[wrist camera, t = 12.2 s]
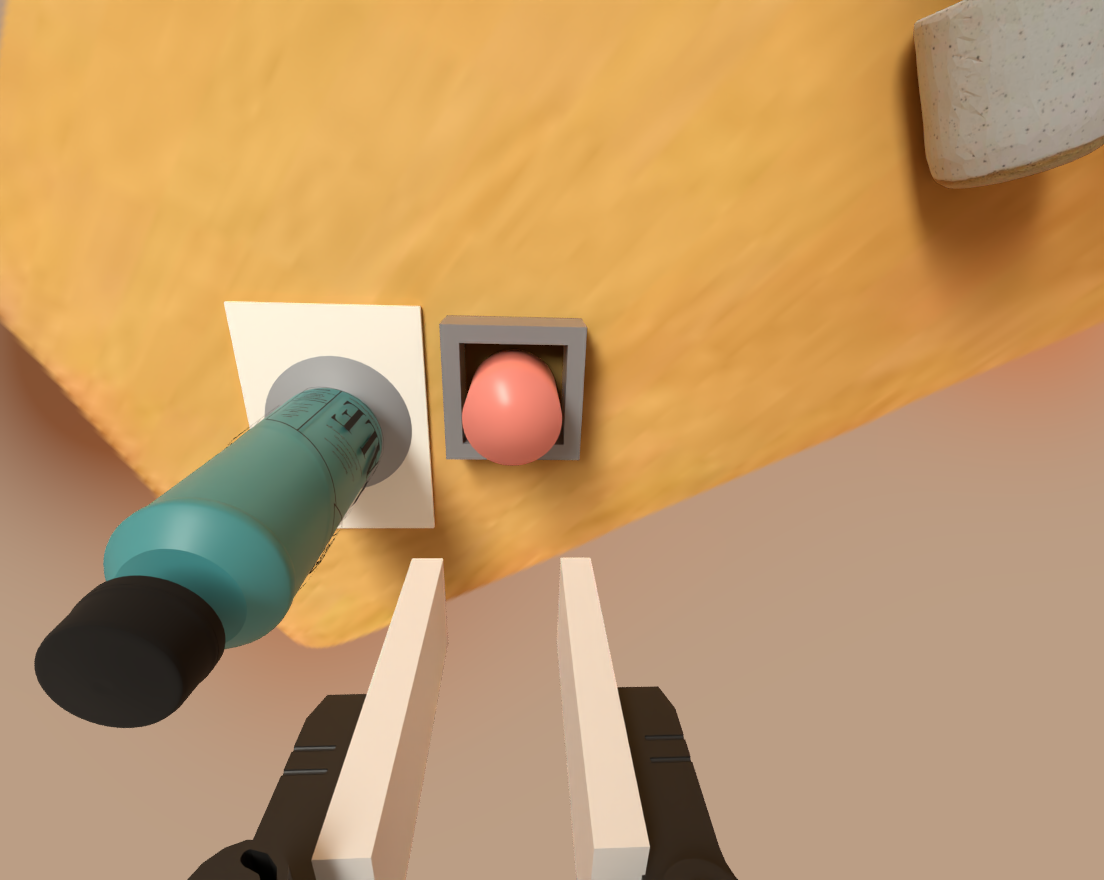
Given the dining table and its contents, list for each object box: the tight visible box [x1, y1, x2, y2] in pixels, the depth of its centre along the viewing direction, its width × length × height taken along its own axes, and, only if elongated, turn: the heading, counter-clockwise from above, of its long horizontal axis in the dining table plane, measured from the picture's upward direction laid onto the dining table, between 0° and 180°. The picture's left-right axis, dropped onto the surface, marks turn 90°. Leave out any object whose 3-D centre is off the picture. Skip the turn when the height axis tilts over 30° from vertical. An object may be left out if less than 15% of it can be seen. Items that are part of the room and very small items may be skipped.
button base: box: [439, 315, 587, 460], centre depth 31 cm, size 8×8×3 cm
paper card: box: [224, 301, 435, 528], centre depth 32 cm, size 15×11×1 cm
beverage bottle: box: [35, 387, 384, 728], centre depth 23 cm, size 6×7×20 cm
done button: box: [462, 349, 562, 466], centre depth 28 cm, size 5×5×5 cm
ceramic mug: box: [913, 0, 1104, 188], centre depth 24 cm, size 11×8×8 cm
